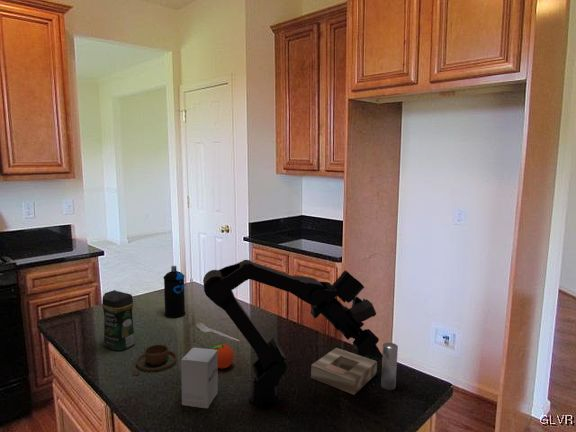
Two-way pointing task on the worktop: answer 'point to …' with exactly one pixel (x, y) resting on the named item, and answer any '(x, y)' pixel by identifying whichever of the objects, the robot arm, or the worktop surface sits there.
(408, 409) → the worktop surface
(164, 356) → the place setting
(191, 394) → the supplement box
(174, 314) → the aerosol can
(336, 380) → the hole block
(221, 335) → the white plastic spoon
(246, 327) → the robot arm
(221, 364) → the clementine
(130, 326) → the coffee jar
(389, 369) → the peg
